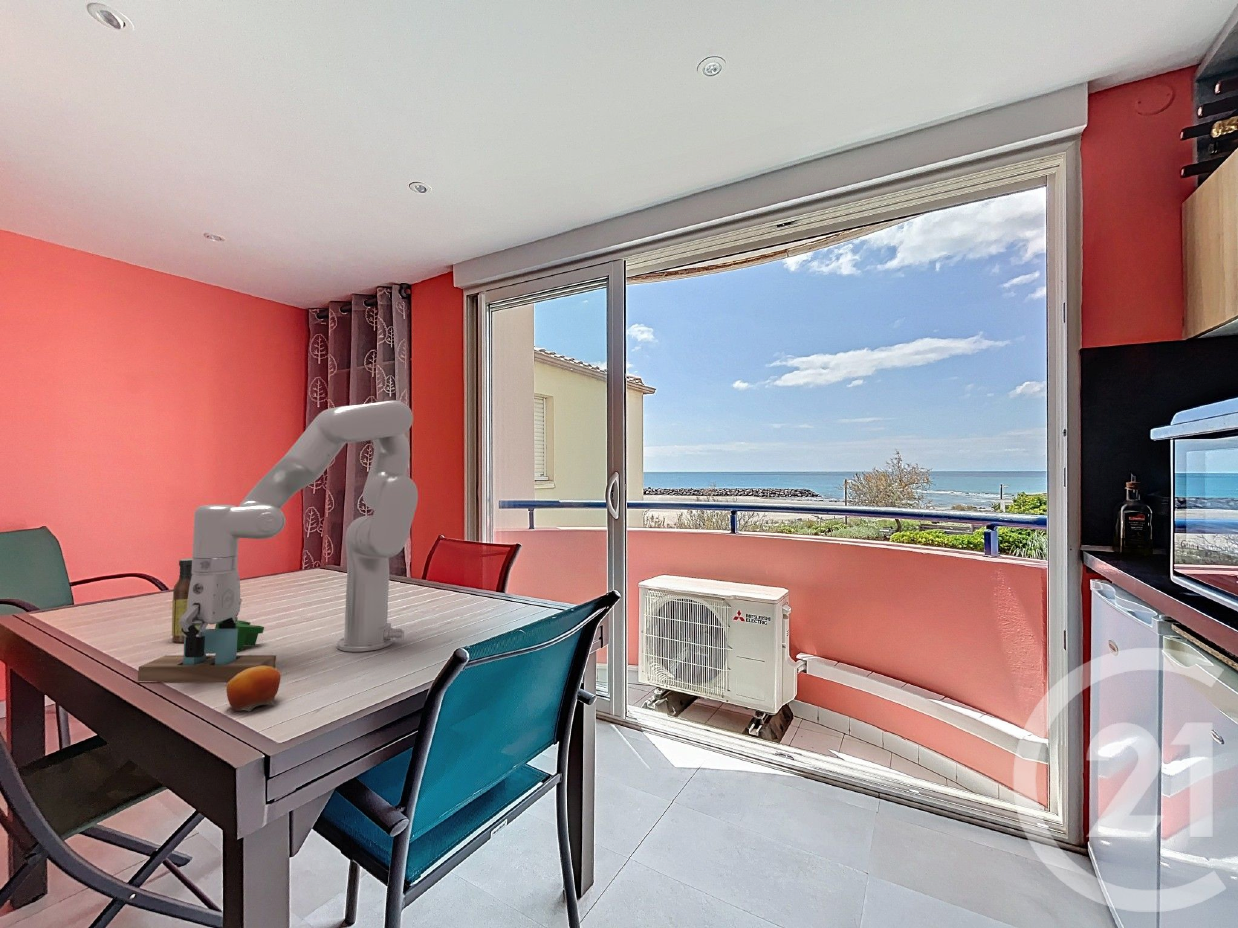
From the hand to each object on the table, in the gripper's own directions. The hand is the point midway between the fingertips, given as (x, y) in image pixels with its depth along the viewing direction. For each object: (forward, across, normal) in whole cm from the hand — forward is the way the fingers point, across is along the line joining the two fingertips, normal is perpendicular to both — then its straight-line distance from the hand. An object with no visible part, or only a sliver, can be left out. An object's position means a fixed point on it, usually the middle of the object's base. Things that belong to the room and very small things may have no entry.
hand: (211, 649), depth 110 cm
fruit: (+6, -15, -17) cm, 23 cm away
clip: (+5, 0, 0) cm, 5 cm away
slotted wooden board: (+5, 0, 0) cm, 5 cm away
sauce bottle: (+6, +25, +21) cm, 33 cm away
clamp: (+6, +20, +7) cm, 22 cm away
